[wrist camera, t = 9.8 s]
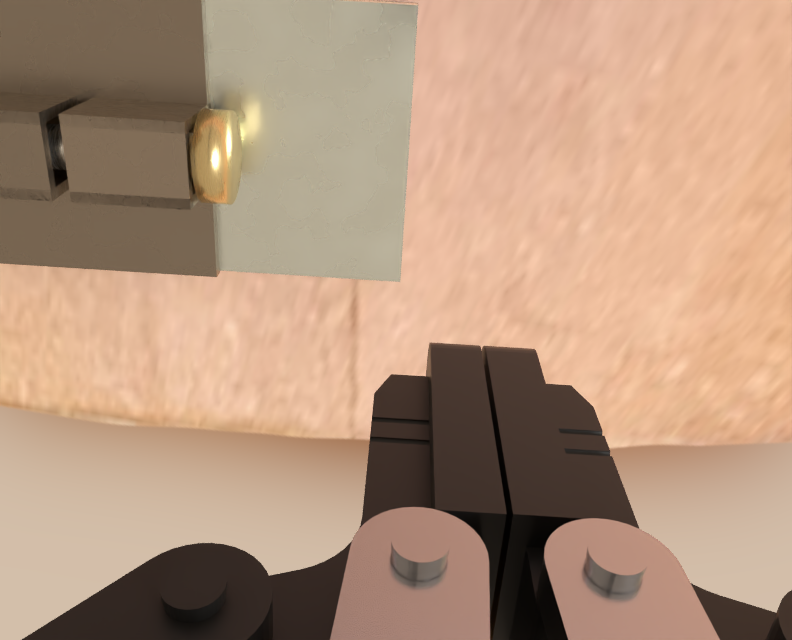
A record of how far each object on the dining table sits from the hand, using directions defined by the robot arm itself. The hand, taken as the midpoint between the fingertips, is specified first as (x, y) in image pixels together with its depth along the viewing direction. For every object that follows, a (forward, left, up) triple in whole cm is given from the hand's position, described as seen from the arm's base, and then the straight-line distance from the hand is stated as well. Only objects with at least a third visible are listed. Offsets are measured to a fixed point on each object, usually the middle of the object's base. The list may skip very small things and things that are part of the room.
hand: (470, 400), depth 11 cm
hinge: (+5, -13, -35) cm, 38 cm away
